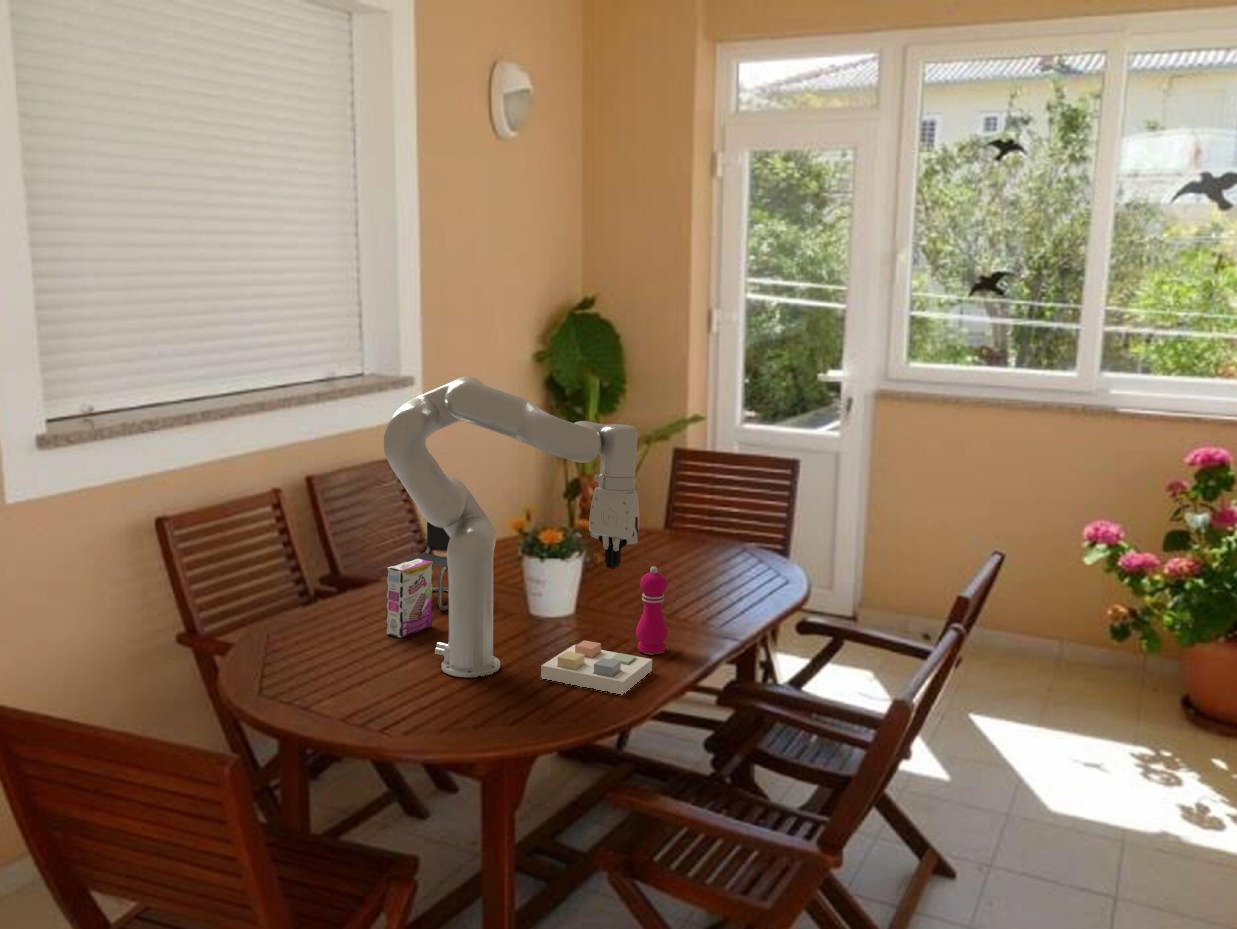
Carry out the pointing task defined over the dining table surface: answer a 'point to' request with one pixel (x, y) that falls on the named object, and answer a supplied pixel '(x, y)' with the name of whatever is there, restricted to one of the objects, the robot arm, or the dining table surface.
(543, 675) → the console
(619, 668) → the slate button
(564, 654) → the ochre button
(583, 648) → the terracotta button
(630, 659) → the sage button
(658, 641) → the pepper mill
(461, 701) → the dining table surface
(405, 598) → the candy bar box
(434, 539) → the chair
